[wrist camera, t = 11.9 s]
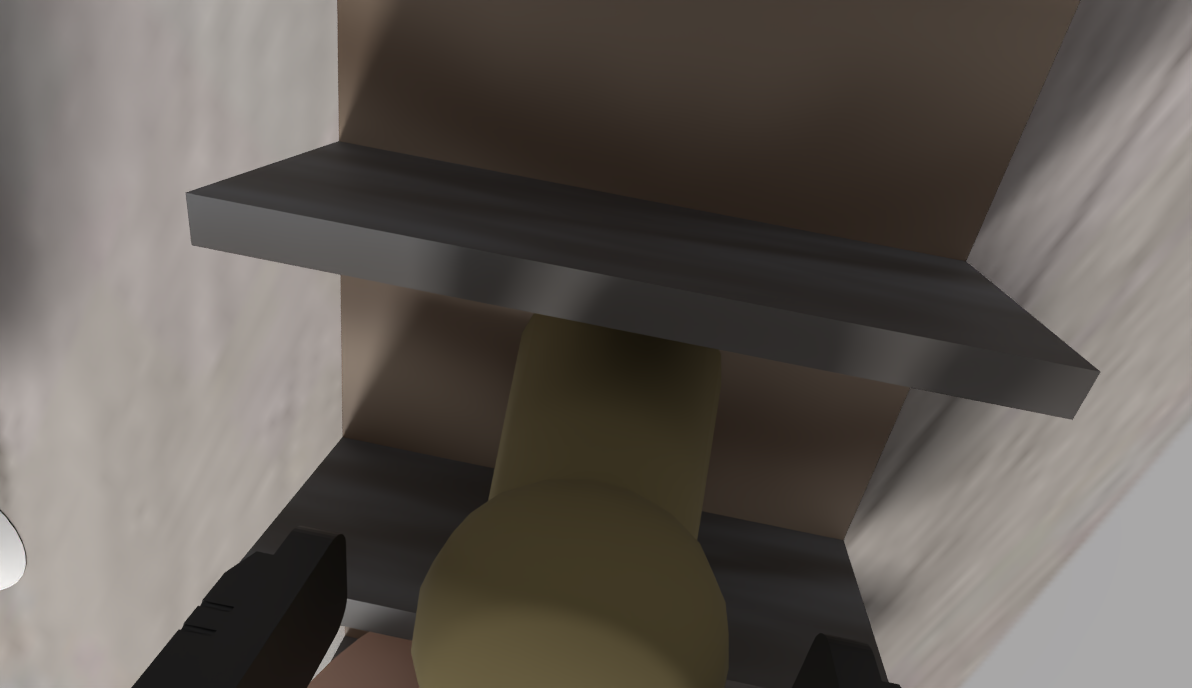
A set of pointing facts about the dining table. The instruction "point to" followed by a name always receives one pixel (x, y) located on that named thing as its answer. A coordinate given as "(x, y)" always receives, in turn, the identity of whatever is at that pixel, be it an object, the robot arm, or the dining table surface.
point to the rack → (655, 264)
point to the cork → (586, 526)
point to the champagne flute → (10, 554)
